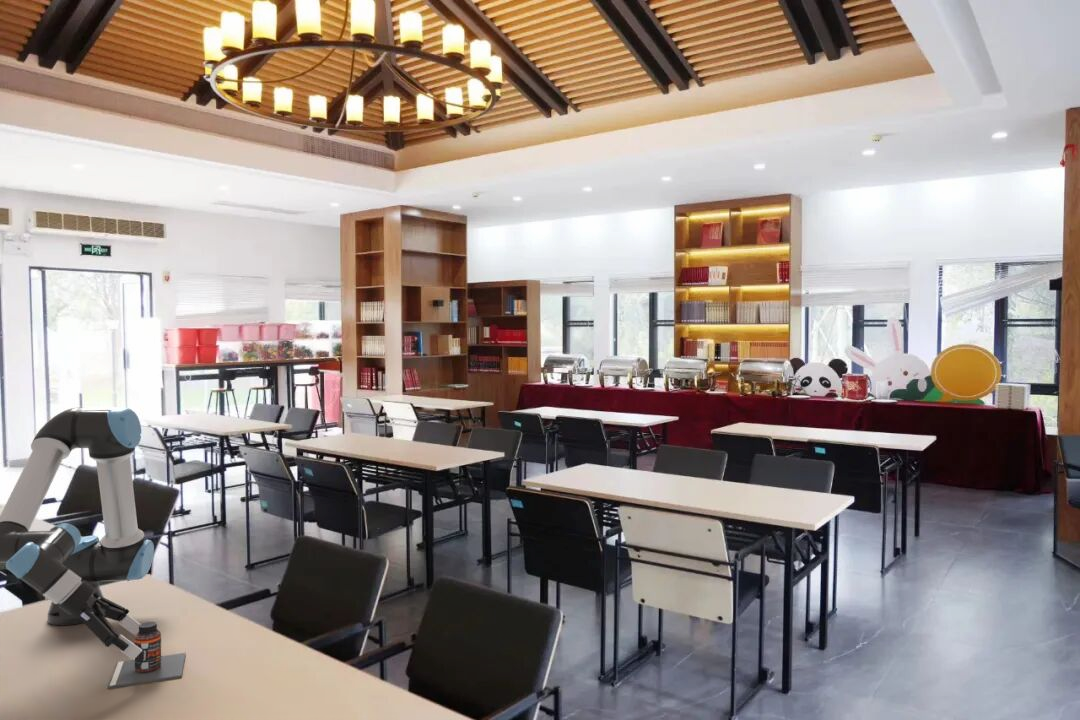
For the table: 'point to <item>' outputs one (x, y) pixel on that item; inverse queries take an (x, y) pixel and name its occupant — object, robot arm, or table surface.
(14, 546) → the robot arm
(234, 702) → the table surface
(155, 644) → the supplement bottle
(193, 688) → the table surface
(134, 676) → the grey flat slab
